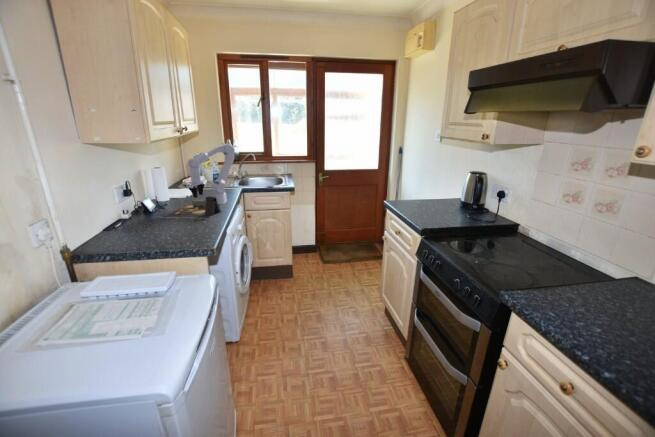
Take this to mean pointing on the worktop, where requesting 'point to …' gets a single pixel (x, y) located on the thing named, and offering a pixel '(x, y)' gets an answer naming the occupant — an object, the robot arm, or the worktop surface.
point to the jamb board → (191, 210)
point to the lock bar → (199, 203)
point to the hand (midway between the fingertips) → (198, 196)
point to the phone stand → (211, 206)
